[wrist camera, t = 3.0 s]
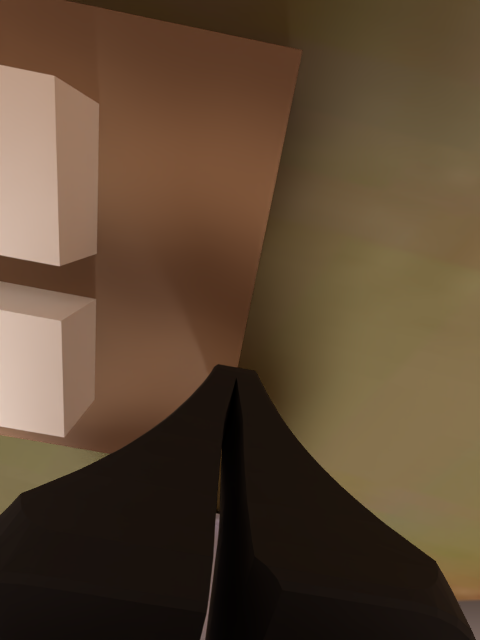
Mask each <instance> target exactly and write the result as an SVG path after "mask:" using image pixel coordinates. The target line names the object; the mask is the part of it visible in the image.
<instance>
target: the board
mask: <svg viewBox="0 0 480 640" xmlns="http://www.w3.org/2000/svg"><path fill="white" fill-rule="evenodd" d="M302 51H303V50H299V49H294V48H290V47H285V46H280V45H275V44H271V43H266V42H261V41H256V40H252V39H247V38H242V37H237V36H233V35H228V34H223V33H218V32H214V31H209V30H204V29H199V28H195V27H190V26H185V25H180V24H176V23H171V22H166V21H161V20H157V19H152V18H147V17H142V16H138V15H133V14H128V13H123V12H119V11H114V10H109V9H104V8H100V7H95V6H90V5H85V4H81V3H76V2H71V1H66V0H0V65H4V66H9V67H13V68H18V69H23V70H28V71H33V72H38V73H43V74H48V75H53V76H55V77H57V78H59V79H60V80H62V81H63V82H65V83H67V84H68V85H70V86H71V87H73V88H75V89H76V90H78V91H79V92H81V93H83V94H84V95H86V96H87V97H89V98H91V99H92V100H94V101H95V102H97V103H99V150H98V213H97V254H94V255H91V256H88V257H86V258H83V259H80V260H77V261H74V262H71V263H68V264H65V265H62V266H55V265H50V264H45V263H39V262H34V261H29V260H23V259H18V258H13V257H7V256H2V255H0V281H1V282H7V283H12V284H17V285H23V286H28V287H34V288H39V289H44V290H50V291H55V292H61V293H66V294H72V295H77V296H82V297H88V298H93V299H96V340H95V400H94V401H93V402H92V403H91V405H90V406H89V407H88V408H87V410H86V411H85V412H84V414H83V415H82V416H81V417H80V419H79V420H78V421H77V422H76V424H75V425H74V426H73V427H72V429H71V430H70V431H69V432H68V434H67V435H66V436H65V437H59V436H53V435H47V434H41V433H35V432H29V431H24V430H18V429H12V428H6V427H0V435H4V436H10V437H15V438H21V439H27V440H33V441H39V442H45V443H50V444H56V445H62V446H68V447H74V448H80V449H86V450H91V451H97V452H103V453H109V454H111V453H113V452H115V451H117V450H119V449H121V448H122V447H124V446H126V445H127V444H129V443H131V442H132V441H134V440H135V439H137V438H139V437H140V436H142V435H143V434H145V433H146V432H148V431H149V430H151V429H152V428H153V427H155V426H156V425H157V424H159V423H160V422H161V421H163V420H164V419H165V418H167V417H168V416H169V415H170V414H171V413H173V412H174V411H175V410H176V409H177V408H178V407H179V406H180V405H182V404H183V403H184V402H185V401H186V400H187V399H188V398H189V397H190V396H191V395H192V394H193V393H194V392H195V391H196V390H197V389H198V387H199V386H200V385H201V384H202V383H203V382H204V381H205V379H206V378H207V377H208V376H209V374H210V373H211V371H212V370H213V368H214V366H216V365H217V364H220V365H226V366H231V367H237V368H238V363H239V358H240V353H241V348H242V343H243V338H244V334H245V329H246V324H247V319H248V314H249V309H250V304H251V299H252V295H253V290H254V285H255V280H256V275H257V270H258V265H259V260H260V255H261V251H262V246H263V241H264V236H265V231H266V226H267V221H268V216H269V212H270V207H271V202H272V197H273V192H274V187H275V182H276V177H277V173H278V168H279V163H280V158H281V153H282V148H283V143H284V138H285V134H286V129H287V124H288V119H289V114H290V109H291V104H292V99H293V95H294V90H295V85H296V80H297V75H298V70H299V65H300V60H301V56H302Z"/></svg>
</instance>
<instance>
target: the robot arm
mask: <svg viewBox="0 0 480 640" xmlns="http://www.w3.org/2000/svg"><path fill="white" fill-rule="evenodd" d="M221 449H222V460H221V489H220V514H217V513H216V506H217V492H218V480H219V468H220V457H221ZM0 640H476V639H475V637H474V634H473V632H472V630H471V628H470V626H469V624H468V622H467V620H466V618H465V616H464V614H463V612H462V610H461V608H460V606H459V604H458V602H457V600H456V598H455V596H454V594H453V592H452V590H451V588H450V586H449V584H448V582H447V581H446V579H445V577H444V575H443V573H442V572H441V570H440V568H439V566H438V565H437V563H436V561H435V560H433V559H432V558H431V557H429V556H428V555H426V554H425V553H424V552H422V551H421V550H420V549H418V548H417V547H416V546H414V545H413V544H412V543H410V542H409V541H408V540H406V539H405V538H404V537H402V536H401V535H400V534H398V533H397V532H395V531H394V530H393V529H391V528H390V527H389V526H387V525H386V524H385V523H384V522H382V521H381V520H380V519H379V518H377V517H376V516H375V515H374V514H373V513H371V512H370V511H369V510H368V509H367V508H365V507H364V506H363V505H362V504H361V503H359V502H358V501H357V500H356V499H355V498H354V497H353V496H351V495H350V494H349V493H348V492H347V491H346V490H345V489H344V488H343V487H341V486H340V485H339V484H338V483H337V482H336V481H335V480H334V479H333V478H332V477H331V476H330V475H329V474H328V473H327V472H326V471H325V470H324V469H323V468H322V467H321V466H320V465H319V464H318V463H317V462H316V460H315V459H314V458H313V457H312V456H311V455H310V454H309V453H308V451H307V450H306V449H305V448H304V447H303V446H302V444H301V443H300V442H299V441H298V440H297V438H296V437H295V436H294V435H293V433H292V432H291V431H290V429H289V428H288V426H287V425H286V423H285V422H284V421H283V419H282V417H281V416H280V414H279V413H278V411H277V409H276V408H275V406H274V405H273V403H272V401H271V400H270V398H269V396H268V394H267V392H266V390H265V389H264V387H263V385H262V383H261V381H260V378H259V376H258V374H257V373H256V371H253V370H248V369H242V368H237V367H231V366H226V365H220V364H217V365H216V366H214V368H213V370H212V371H211V373H210V374H209V376H208V377H207V378H206V379H205V381H204V382H203V383H202V384H201V385H200V386H199V387H198V389H197V390H196V391H195V392H194V393H193V394H192V395H191V396H190V397H189V398H188V399H187V400H186V401H185V402H184V403H183V404H182V405H180V406H179V407H178V408H177V409H176V410H175V411H174V412H173V413H171V414H170V415H169V416H168V417H167V418H165V419H164V420H163V421H161V422H160V423H159V424H157V425H156V426H155V427H153V428H152V429H151V430H149V431H148V432H146V433H145V434H143V435H142V436H140V437H139V438H137V439H135V440H134V441H132V442H131V443H129V444H127V445H126V446H124V447H122V448H121V449H119V450H117V451H115V452H113V453H111V454H110V455H108V456H106V457H104V458H102V459H100V460H98V461H96V462H94V463H92V464H90V465H88V466H86V467H84V468H82V469H80V470H77V471H75V472H73V473H70V474H68V475H65V476H63V477H61V478H58V479H56V480H53V481H51V482H49V483H46V484H44V485H41V486H39V487H36V488H34V489H31V490H29V491H26V492H23V493H21V494H20V495H19V496H18V497H17V498H16V499H15V501H14V502H13V503H12V504H11V505H10V506H9V507H8V508H7V509H6V510H5V511H4V512H3V513H2V514H1V515H0Z"/></svg>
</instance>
